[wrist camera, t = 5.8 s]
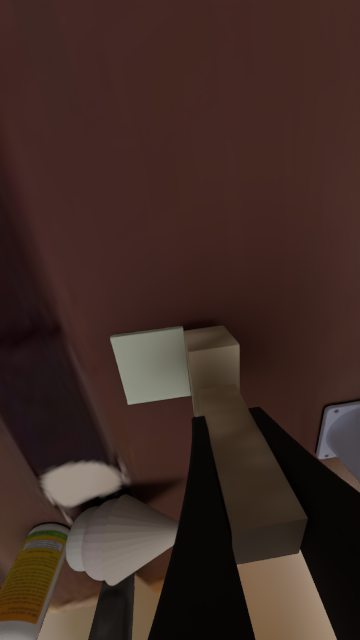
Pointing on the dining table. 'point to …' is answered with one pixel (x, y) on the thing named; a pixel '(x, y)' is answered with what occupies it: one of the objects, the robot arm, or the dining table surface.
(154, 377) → the tile
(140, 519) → the ice cream cone
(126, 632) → the beverage cup
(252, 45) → the dining table surface
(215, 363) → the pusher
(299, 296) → the dining table surface
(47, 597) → the supplement bottle
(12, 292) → the dining table surface
